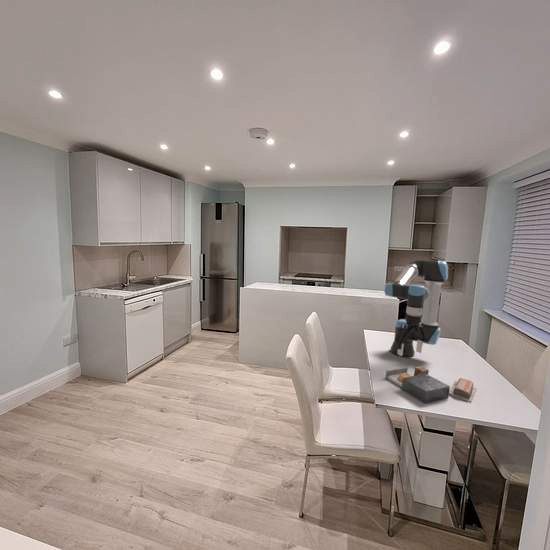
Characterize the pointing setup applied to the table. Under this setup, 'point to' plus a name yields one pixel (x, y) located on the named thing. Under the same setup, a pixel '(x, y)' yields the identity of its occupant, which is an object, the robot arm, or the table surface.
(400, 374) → the orange dome cap
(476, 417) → the table surface
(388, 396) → the table surface
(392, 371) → the tray
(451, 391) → the packaged product
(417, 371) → the block
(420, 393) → the housing
